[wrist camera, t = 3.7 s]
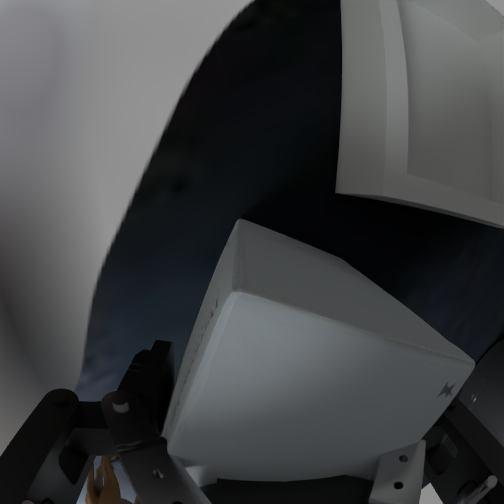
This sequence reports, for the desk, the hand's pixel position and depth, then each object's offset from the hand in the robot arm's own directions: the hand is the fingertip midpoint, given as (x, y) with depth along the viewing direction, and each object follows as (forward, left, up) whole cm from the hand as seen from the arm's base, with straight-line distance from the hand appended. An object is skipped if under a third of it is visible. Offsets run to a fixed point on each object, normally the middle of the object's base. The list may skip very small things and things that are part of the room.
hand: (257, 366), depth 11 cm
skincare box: (0, 0, -4) cm, 4 cm away
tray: (-10, -16, -4) cm, 19 cm away
